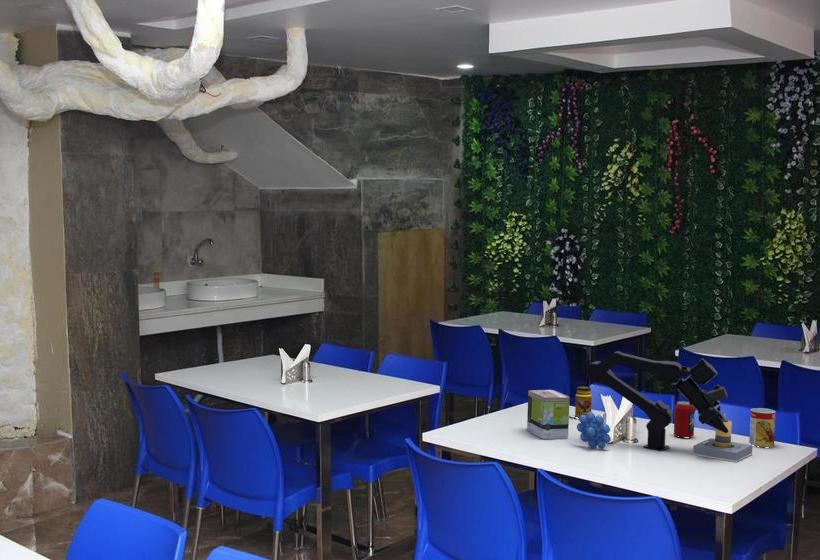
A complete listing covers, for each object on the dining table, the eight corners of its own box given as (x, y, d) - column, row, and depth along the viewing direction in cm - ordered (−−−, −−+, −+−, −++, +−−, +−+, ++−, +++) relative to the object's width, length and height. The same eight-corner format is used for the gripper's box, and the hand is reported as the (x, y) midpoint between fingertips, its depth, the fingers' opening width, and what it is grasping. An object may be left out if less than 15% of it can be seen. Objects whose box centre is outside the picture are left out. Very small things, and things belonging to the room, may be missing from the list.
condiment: (583, 421, 354) (583, 389, 354) (566, 417, 361) (567, 386, 360) (596, 419, 359) (597, 387, 358) (580, 415, 365) (581, 384, 365)
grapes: (571, 448, 311) (572, 412, 310) (578, 444, 317) (579, 409, 316) (606, 453, 305) (607, 416, 305) (612, 449, 311) (613, 413, 310)
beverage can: (696, 439, 327) (697, 404, 327) (676, 438, 328) (677, 404, 327) (690, 434, 334) (691, 401, 333) (671, 434, 334) (672, 400, 334)
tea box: (569, 438, 325) (570, 396, 324) (542, 440, 323) (543, 397, 322) (552, 429, 340) (553, 388, 339) (526, 430, 337) (527, 389, 336)
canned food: (778, 448, 316) (780, 412, 316) (756, 448, 315) (758, 413, 314) (766, 442, 324) (767, 407, 323) (744, 443, 323) (746, 408, 322)
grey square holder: (736, 462, 296) (736, 452, 296) (693, 454, 305) (693, 445, 305) (752, 454, 307) (752, 444, 307) (710, 447, 316) (710, 437, 316)
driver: (727, 452, 303) (728, 415, 302) (712, 450, 306) (713, 413, 305) (732, 450, 306) (734, 413, 306) (718, 447, 310) (719, 411, 309)
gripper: (711, 382, 297) (746, 420, 294) (714, 373, 315) (748, 409, 312) (684, 405, 301) (719, 442, 297) (688, 395, 318) (721, 430, 315)
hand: (727, 430), depth 305 cm, fingers closed on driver, 5 cm apart
